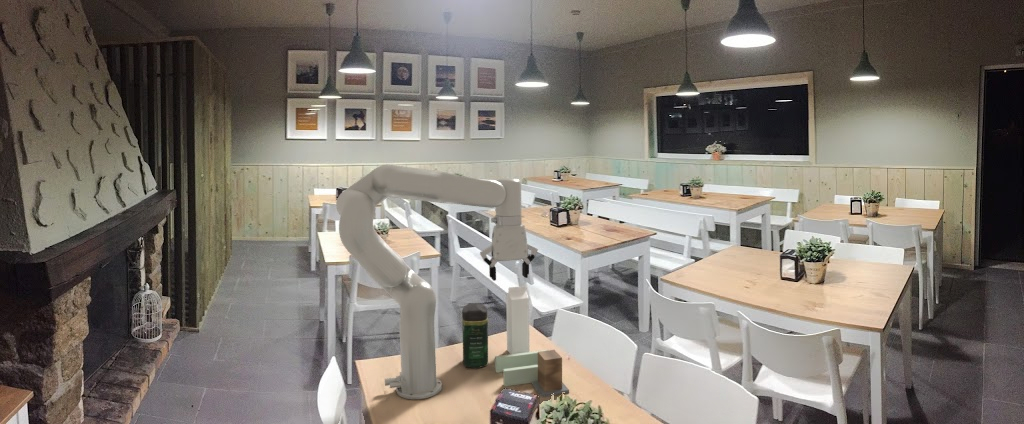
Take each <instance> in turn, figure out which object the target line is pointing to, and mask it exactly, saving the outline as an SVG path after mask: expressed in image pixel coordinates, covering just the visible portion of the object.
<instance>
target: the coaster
mask: <svg viewBox="0 0 1024 424" xmlns="http://www.w3.org/2000/svg"><path fill="white" fill-rule="evenodd" d="M531 384H532V386H533V387H534V389H535V390H536V392H537V393H538V395H539V396H540V397H541V398H543V397H549V396H552V395H551V394H553V393H554V394H557V395H562V394H561V393H562V392H565V393H564V394H569V393H570V389H569V388H568V387H567V386H566V384H565V383H564V382H563V381H562V389H559V390H552V391H546V392H545V391H544V390H543V388H542V387H541V386H540V384H539V383H538V381H532V383H531Z"/></svg>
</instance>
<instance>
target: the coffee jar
mask: <svg viewBox="0 0 1024 424" xmlns="http://www.w3.org/2000/svg"><path fill="white" fill-rule="evenodd" d="M461 312H462V313H461V314H462V316H461V317H462V318H461V321H462V363H463V366H464V367H466V368H471V369H479V368H482V367H486V366H487V365H488V363H489V323H488V322H489V321H488V319H489V318H488V317H489V316H488V308H487V306H485V305H484V304H482V303H481V302H469V303H467V304H466V305H465V306H463V307H462V311H461Z"/></svg>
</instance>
